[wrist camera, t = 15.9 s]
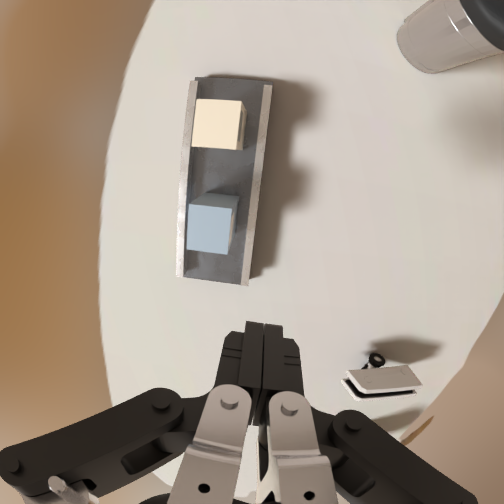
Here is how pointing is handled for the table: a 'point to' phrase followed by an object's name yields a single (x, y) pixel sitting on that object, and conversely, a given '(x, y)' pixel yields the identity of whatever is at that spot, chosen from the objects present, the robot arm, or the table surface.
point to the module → (212, 223)
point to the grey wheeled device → (381, 381)
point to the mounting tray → (224, 178)
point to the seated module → (219, 124)
